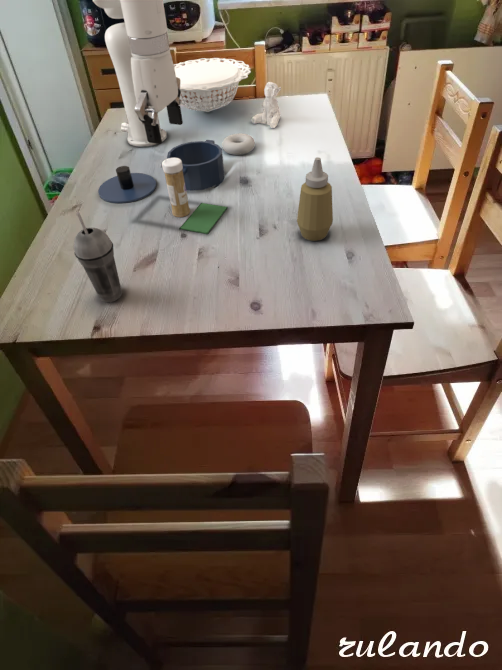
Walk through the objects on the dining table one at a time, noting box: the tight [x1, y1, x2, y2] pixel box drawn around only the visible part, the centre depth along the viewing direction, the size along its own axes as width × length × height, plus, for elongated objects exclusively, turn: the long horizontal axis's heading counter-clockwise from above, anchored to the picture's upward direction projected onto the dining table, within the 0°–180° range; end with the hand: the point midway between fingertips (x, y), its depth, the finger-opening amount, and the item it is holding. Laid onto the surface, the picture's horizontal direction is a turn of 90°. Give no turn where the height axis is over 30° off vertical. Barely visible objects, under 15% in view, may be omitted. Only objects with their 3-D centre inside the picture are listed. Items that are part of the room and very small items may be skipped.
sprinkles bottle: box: [161, 158, 191, 218], centre depth 111 cm, size 5×5×14 cm
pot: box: [166, 139, 226, 192], centre depth 125 cm, size 15×20×7 cm
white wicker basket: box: [173, 57, 252, 113], centre depth 157 cm, size 32×32×13 cm
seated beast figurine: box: [251, 81, 282, 129], centre depth 149 cm, size 10×9×12 cm
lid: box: [97, 165, 157, 204], centre depth 124 cm, size 16×16×6 cm
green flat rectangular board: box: [178, 202, 228, 235], centre depth 115 cm, size 20×12×1 cm, turn 69°
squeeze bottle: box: [296, 156, 334, 242], centre depth 100 cm, size 8×8×18 cm
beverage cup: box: [73, 211, 123, 303], centre depth 88 cm, size 7×7×20 cm
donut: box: [221, 132, 256, 156], centre depth 138 cm, size 10×3×10 cm
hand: (165, 133), depth 101 cm, fingers open, 9 cm apart
